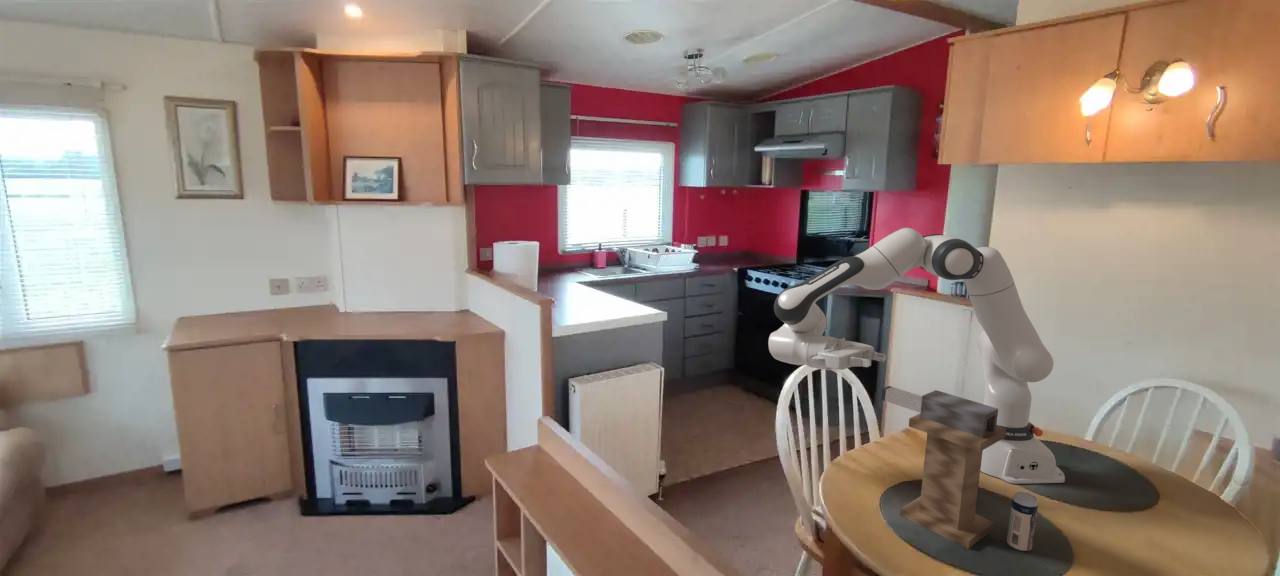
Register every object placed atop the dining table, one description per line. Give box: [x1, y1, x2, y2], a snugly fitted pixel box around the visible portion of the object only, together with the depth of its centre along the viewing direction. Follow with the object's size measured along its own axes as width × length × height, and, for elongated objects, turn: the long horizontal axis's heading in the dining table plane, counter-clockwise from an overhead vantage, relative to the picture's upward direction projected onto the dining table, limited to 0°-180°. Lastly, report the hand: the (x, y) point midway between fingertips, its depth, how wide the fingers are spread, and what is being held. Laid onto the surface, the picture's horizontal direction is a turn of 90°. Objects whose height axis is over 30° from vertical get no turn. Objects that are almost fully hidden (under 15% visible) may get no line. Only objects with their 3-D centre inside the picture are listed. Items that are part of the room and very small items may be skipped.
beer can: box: [1006, 491, 1039, 552], centre depth 132 cm, size 5×5×12 cm
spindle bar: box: [880, 385, 923, 414], centre depth 142 cm, size 22×3×3 cm, turn 36°
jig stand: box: [899, 389, 1006, 550], centre depth 139 cm, size 16×12×30 cm
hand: (877, 360), depth 149 cm, fingers open, 8 cm apart
